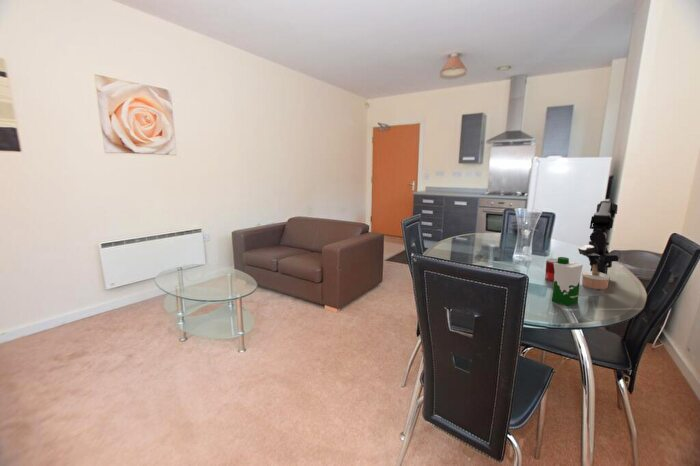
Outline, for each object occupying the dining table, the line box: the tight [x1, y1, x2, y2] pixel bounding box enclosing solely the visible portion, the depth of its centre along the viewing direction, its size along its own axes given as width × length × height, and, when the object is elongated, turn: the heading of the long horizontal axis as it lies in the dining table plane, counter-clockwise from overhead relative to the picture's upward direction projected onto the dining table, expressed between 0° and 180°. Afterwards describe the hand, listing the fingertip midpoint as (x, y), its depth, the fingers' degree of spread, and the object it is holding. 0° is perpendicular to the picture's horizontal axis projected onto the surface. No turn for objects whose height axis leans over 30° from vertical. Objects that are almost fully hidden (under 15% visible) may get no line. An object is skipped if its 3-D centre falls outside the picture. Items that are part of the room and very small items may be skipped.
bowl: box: [581, 275, 610, 290], centre depth 154 cm, size 10×10×5 cm
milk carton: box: [551, 256, 584, 307], centre depth 135 cm, size 9×9×20 cm
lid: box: [581, 264, 611, 280], centre depth 153 cm, size 11×11×6 cm
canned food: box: [544, 258, 558, 283], centre depth 164 cm, size 8×8×11 cm
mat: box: [578, 284, 609, 297], centre depth 149 cm, size 14×14×1 cm
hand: (596, 270), depth 153 cm, fingers open, 4 cm apart
